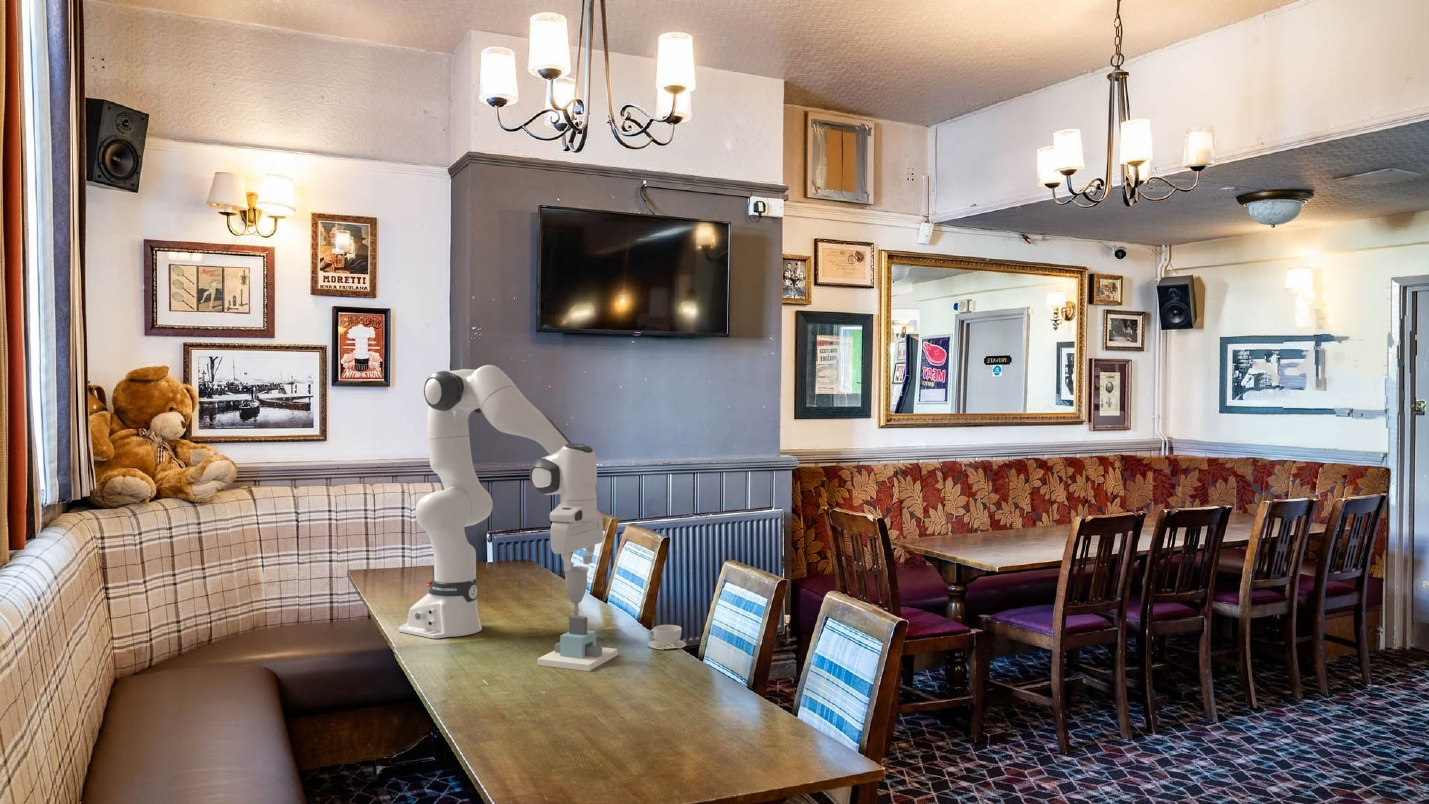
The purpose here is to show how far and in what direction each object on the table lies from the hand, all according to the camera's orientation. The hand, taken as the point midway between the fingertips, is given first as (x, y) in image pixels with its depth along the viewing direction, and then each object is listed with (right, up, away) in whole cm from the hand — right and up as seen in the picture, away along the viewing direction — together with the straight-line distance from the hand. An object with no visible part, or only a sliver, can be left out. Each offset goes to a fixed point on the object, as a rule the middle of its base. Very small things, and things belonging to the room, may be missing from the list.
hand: (578, 566), depth 238 cm
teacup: (+21, -23, +14) cm, 34 cm away
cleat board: (0, -23, 0) cm, 23 cm away
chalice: (-4, -23, +24) cm, 33 cm away
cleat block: (0, -21, 0) cm, 21 cm away
